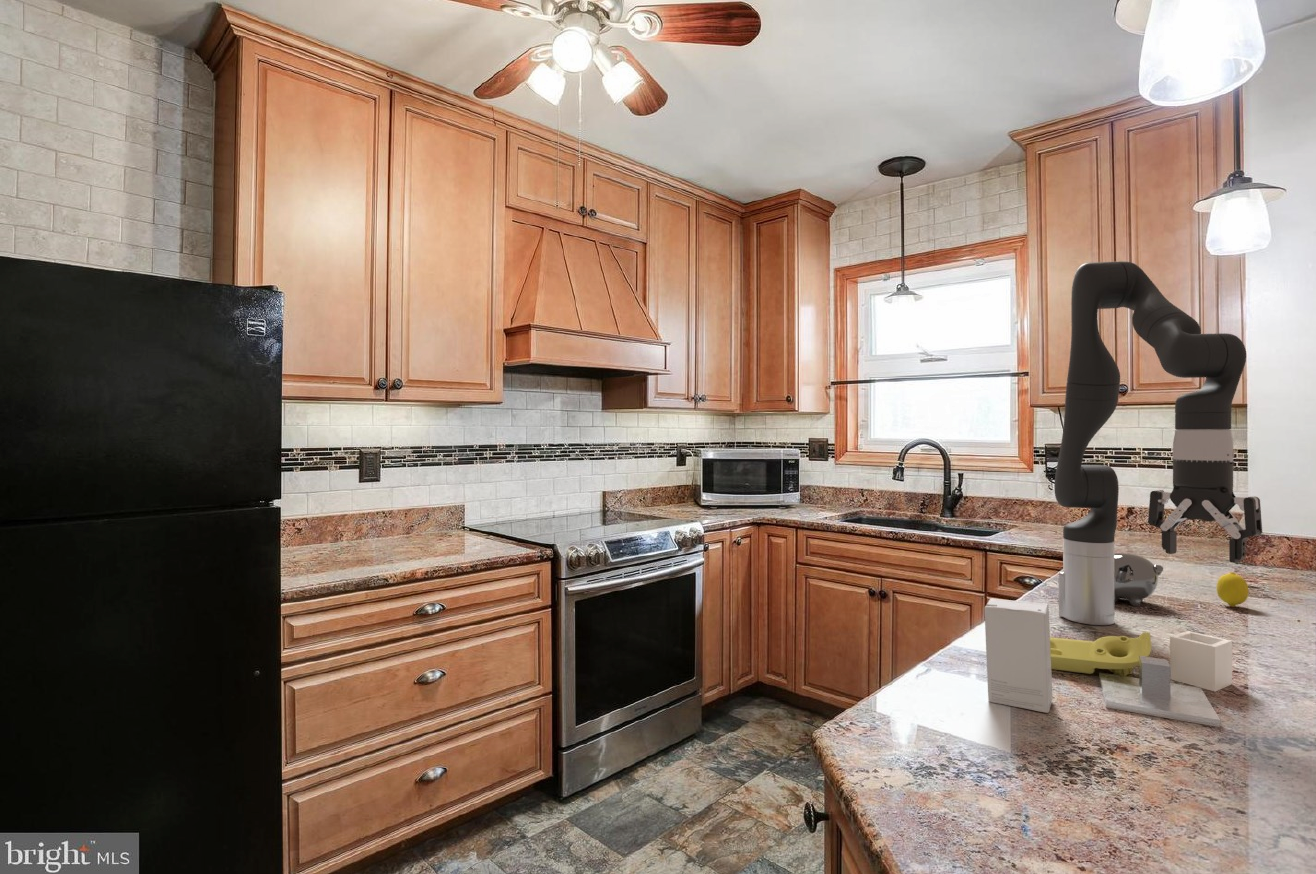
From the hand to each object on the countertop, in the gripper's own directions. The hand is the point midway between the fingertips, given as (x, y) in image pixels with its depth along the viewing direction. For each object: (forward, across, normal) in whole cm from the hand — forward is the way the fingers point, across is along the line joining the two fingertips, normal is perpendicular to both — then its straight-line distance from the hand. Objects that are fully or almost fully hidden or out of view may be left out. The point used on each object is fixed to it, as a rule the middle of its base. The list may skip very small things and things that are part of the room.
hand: (1202, 557), depth 106 cm
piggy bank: (+20, -32, +44) cm, 58 cm away
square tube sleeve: (+20, 0, 0) cm, 20 cm away
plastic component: (+21, -14, -10) cm, 27 cm away
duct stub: (+20, 0, -15) cm, 25 cm away
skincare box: (+20, -10, -33) cm, 40 cm away
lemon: (+20, -17, +60) cm, 66 cm away
